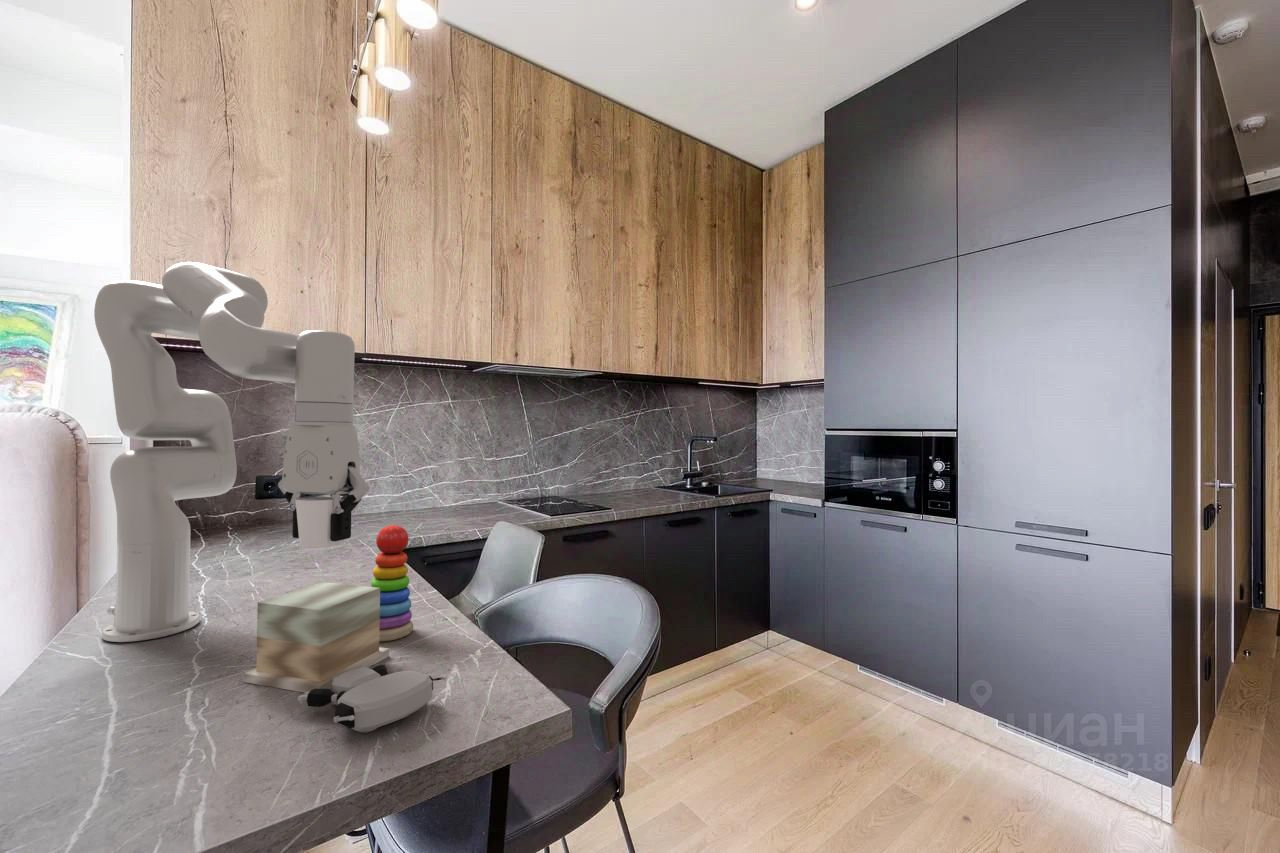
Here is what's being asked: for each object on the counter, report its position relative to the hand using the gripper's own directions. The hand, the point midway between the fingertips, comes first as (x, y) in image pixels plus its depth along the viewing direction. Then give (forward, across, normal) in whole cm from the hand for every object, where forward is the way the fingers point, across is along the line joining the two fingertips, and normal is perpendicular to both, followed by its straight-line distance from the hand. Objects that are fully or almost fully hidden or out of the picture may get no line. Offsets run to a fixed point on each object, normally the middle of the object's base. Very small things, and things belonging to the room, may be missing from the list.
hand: (321, 536), depth 80 cm
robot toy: (+20, +16, -8) cm, 27 cm away
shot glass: (+1, 0, 0) cm, 1 cm away
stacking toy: (+20, 0, +14) cm, 24 cm away
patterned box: (+19, 0, 0) cm, 19 cm away
